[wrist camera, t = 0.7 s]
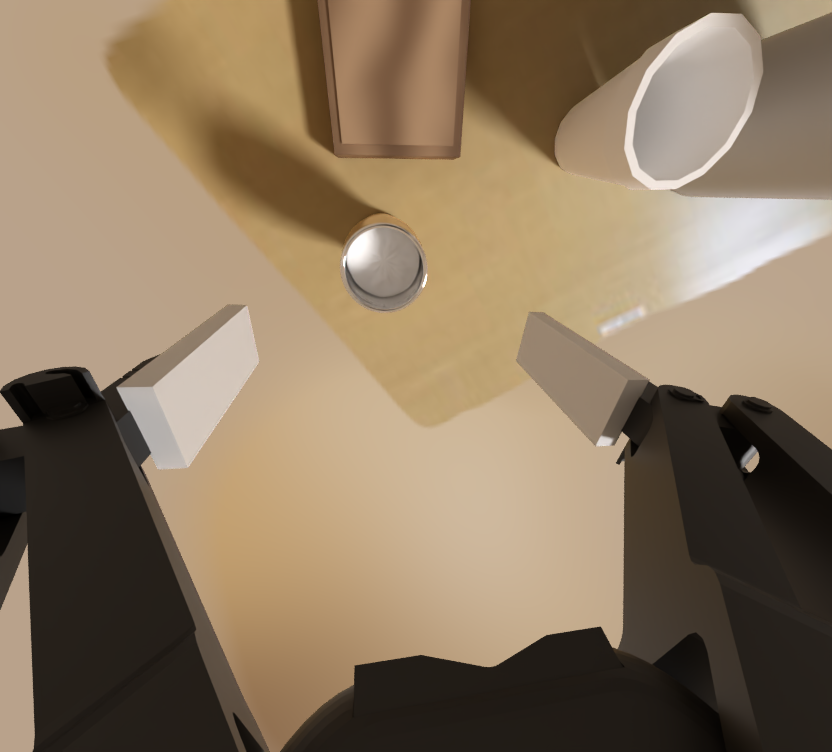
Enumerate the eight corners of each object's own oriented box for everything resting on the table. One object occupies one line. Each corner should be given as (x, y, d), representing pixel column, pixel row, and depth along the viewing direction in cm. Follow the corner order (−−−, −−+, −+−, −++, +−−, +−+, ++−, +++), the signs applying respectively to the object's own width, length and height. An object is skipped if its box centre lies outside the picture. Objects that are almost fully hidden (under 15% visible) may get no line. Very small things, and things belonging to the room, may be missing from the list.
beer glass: (360, 277, 37) (352, 323, 24) (343, 215, 33) (323, 230, 20) (415, 266, 37) (436, 306, 24) (405, 202, 33) (422, 209, 20)
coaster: (463, -16, 25) (474, -41, 22) (453, 159, 32) (460, 156, 29) (318, -27, 24) (311, -55, 21) (338, 157, 30) (334, 154, 28)
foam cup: (540, 93, 29) (636, 35, 19) (632, 65, 29) (786, -11, 18) (541, 200, 35) (617, 205, 24) (620, 178, 34) (734, 172, 23)
